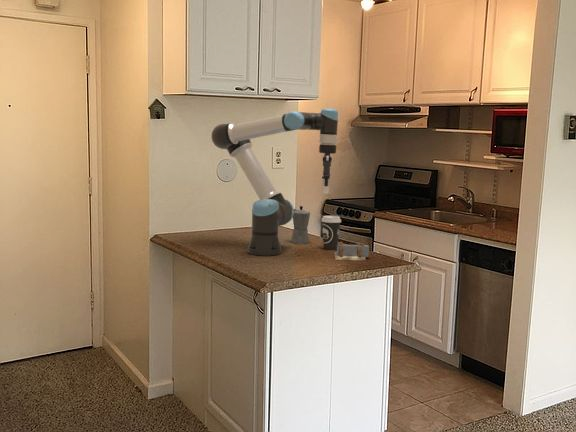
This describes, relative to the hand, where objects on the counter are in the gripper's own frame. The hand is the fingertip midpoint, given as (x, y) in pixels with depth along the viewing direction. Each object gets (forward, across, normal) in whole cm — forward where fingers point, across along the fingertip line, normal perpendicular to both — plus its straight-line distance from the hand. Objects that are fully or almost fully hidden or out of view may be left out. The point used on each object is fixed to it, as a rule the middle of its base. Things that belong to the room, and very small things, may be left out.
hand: (325, 192), depth 277 cm
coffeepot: (+28, +26, +11) cm, 40 cm away
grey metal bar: (+27, -8, -12) cm, 30 cm away
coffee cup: (+28, +12, -4) cm, 31 cm away
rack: (+28, -8, -12) cm, 31 cm away
